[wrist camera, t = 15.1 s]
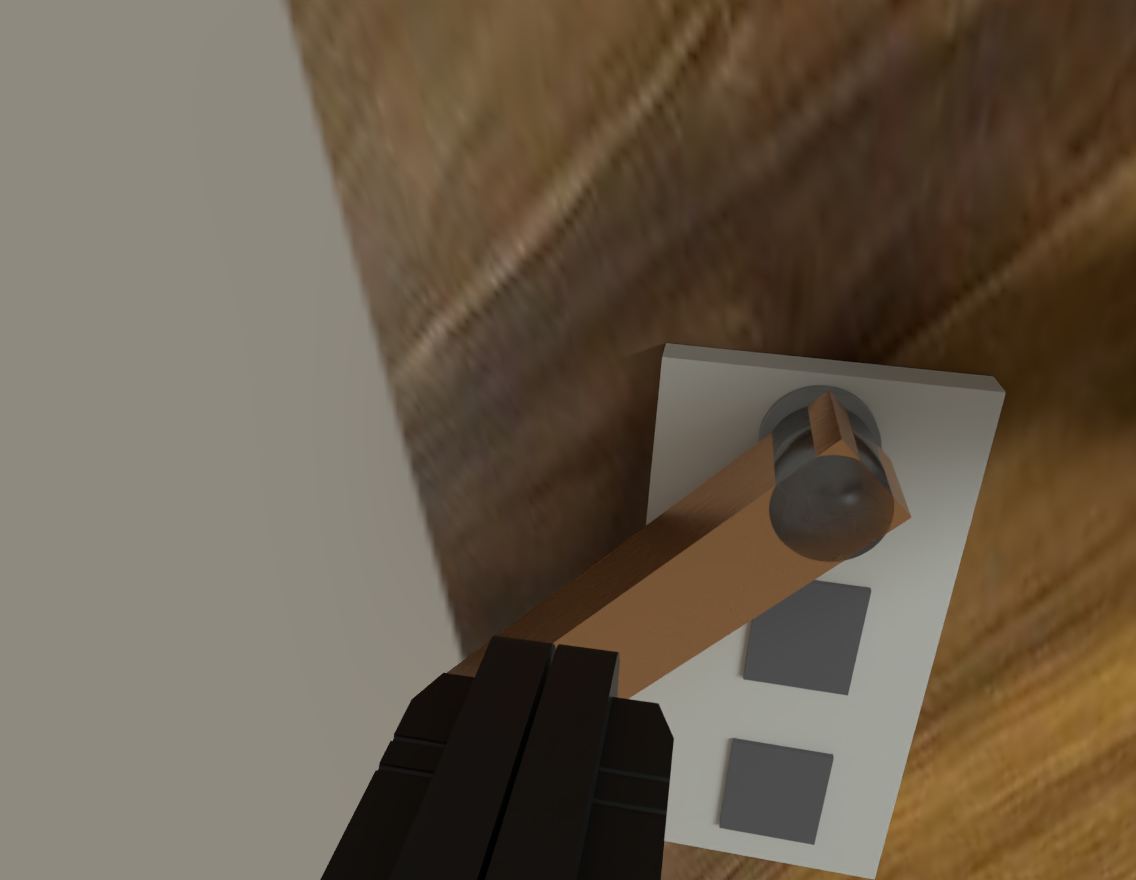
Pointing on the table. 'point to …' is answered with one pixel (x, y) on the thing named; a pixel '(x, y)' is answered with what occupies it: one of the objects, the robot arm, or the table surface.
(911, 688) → the label board
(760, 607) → the swing arm
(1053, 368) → the table surface
